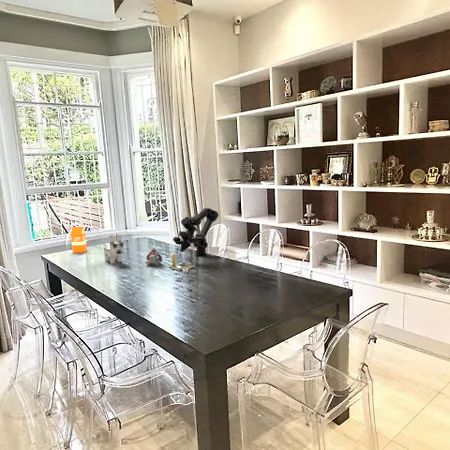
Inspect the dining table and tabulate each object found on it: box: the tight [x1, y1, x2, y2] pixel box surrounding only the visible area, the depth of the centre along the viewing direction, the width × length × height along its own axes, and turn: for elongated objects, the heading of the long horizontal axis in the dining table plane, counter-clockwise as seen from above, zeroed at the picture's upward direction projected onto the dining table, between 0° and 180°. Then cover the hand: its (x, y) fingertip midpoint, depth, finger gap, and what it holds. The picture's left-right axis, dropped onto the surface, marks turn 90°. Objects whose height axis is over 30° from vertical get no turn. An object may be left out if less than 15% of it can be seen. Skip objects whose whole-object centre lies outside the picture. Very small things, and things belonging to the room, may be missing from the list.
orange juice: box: [70, 226, 88, 254], centre depth 313 cm, size 8×9×20 cm
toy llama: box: [103, 233, 125, 265], centre depth 275 cm, size 8×18×20 cm, turn 42°
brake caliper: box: [144, 248, 163, 267], centre depth 264 cm, size 11×11×12 cm
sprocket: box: [168, 253, 196, 271], centre depth 257 cm, size 18×18×9 cm
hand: (181, 251), depth 264 cm, fingers closed
